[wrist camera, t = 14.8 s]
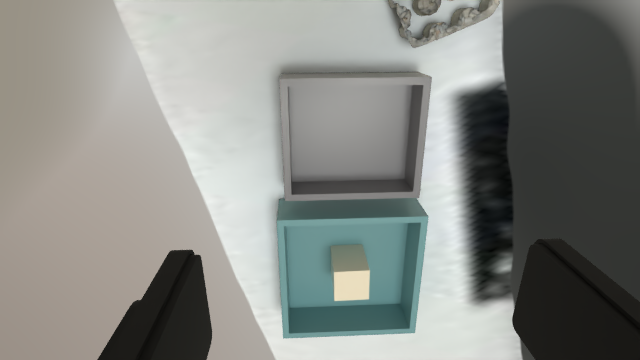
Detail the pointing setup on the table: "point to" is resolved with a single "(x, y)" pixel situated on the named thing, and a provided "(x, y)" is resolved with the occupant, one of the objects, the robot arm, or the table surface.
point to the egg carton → (428, 4)
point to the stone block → (349, 272)
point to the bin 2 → (381, 253)
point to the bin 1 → (353, 134)
